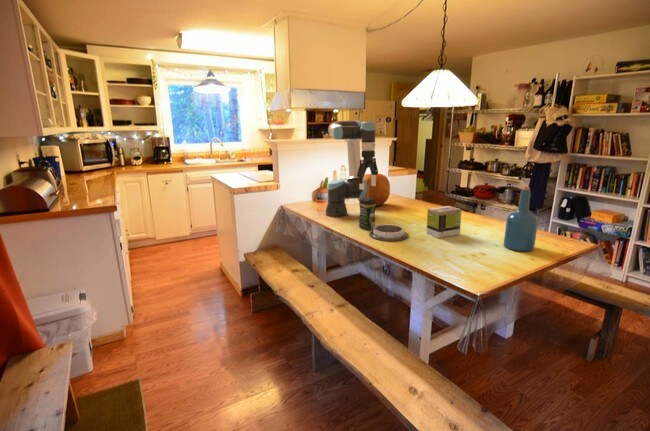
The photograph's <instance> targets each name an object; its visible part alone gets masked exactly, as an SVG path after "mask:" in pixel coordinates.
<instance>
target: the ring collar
mask: <svg viewBox="0 0 650 431" xmlns="http://www.w3.org/2000/svg"><path fill="white" fill-rule="evenodd" d="M368 236H369V238H371V239H374V240H375V241H380V242H400V241H404V240H406V239H408V238H409V233H408V232H407V231H406V229H405V227H403V226H401V225H398V224H392V223H391V224H389V223H388V224H387V223H386V224H385V223H384V224H376V225H375V227H373V229H371V230H370V232H369V235H368Z"/></svg>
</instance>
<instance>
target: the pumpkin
mask: <svg viewBox="0 0 650 431" xmlns="http://www.w3.org/2000/svg"><path fill="white" fill-rule="evenodd" d="M369 170H370V169H369ZM371 175H373V174H372V172H371V170H370V173H365V174H364V177H363V178H364V181H366V182H367V192H366V195H365V197H369V198H374V199H375V200H376V206H375V207H378V206H381V205H383V204H385V203H386V202H387V201H388V199H389V197H390V194H391V189H390V188H391V184H390V181H389V179H388V177H387V176H386V175H385V174H382V173H378V175H376V186H371ZM356 199H357V200H358V202H359V201H360V198H359V199H358V198H356Z"/></svg>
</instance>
